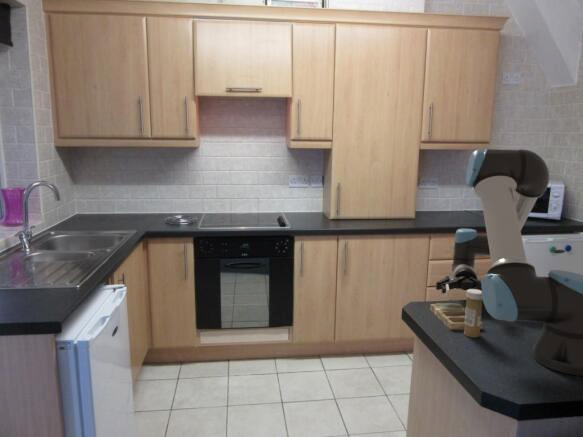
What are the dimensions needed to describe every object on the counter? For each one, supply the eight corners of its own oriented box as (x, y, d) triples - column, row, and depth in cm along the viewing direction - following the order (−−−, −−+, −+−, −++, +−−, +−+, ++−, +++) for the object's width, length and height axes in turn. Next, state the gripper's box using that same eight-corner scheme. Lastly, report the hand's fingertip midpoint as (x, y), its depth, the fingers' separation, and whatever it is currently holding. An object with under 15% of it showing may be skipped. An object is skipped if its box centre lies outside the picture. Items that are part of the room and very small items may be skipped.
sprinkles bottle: (483, 337, 128) (487, 293, 126) (469, 338, 127) (472, 294, 125) (473, 330, 132) (477, 288, 130) (460, 332, 131) (463, 288, 129)
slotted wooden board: (482, 329, 133) (483, 322, 133) (450, 329, 133) (450, 322, 132) (459, 309, 150) (459, 303, 149) (430, 309, 149) (430, 303, 149)
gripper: (502, 291, 155) (513, 312, 135) (428, 283, 162) (428, 303, 142) (504, 270, 153) (515, 289, 133) (429, 264, 161) (429, 281, 141)
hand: (470, 296), depth 138 cm, fingers open, 13 cm apart
